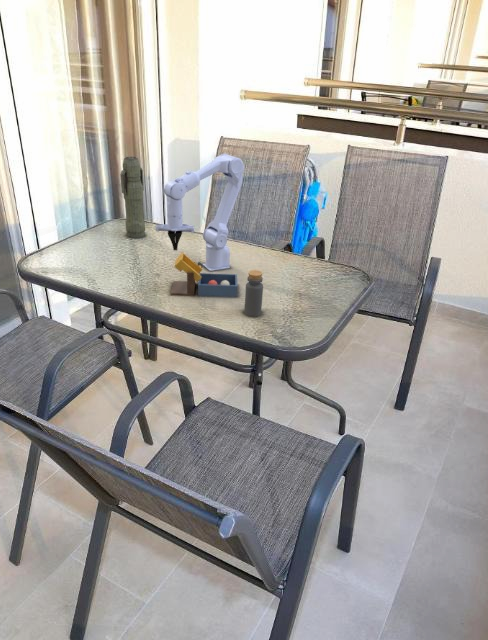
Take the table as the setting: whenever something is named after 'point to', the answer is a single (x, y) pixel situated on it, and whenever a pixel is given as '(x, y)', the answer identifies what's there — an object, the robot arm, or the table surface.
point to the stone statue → (133, 197)
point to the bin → (217, 289)
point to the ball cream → (225, 283)
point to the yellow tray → (188, 266)
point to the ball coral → (212, 282)
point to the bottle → (253, 294)
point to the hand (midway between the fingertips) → (175, 249)
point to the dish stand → (184, 286)
